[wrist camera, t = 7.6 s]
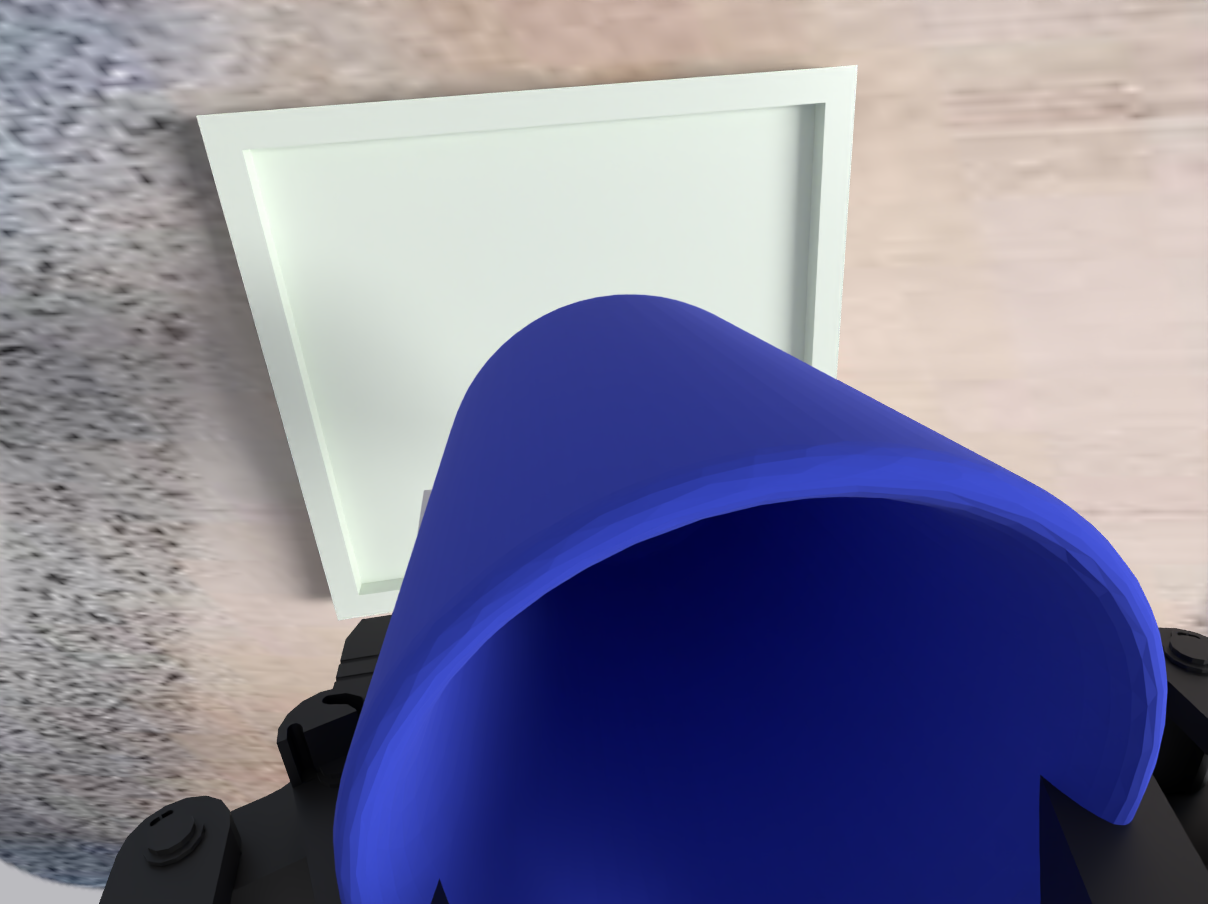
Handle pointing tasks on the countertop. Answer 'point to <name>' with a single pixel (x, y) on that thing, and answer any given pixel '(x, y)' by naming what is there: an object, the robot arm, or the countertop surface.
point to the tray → (509, 257)
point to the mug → (733, 643)
